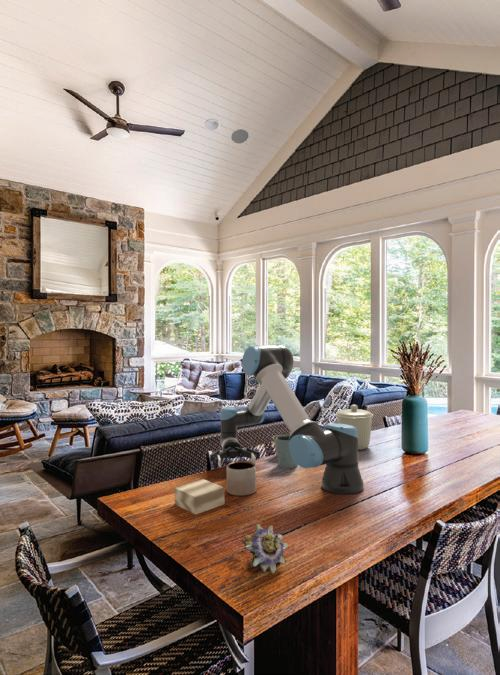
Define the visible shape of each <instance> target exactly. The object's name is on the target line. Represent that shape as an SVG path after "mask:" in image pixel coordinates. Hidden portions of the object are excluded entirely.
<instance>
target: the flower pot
mask: <svg viewBox="0 0 500 675" xmlns="http://www.w3.org/2000/svg"><path fill="white" fill-rule="evenodd" d="M282 435H283V434H277V435H273V436H272V440H273V442H274V448H275V449H274V450H275V455H276V456H277V457H278V453H277V452H278V451H277V443H276V437H278V436H282Z"/></svg>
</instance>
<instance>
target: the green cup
mask: <svg viewBox="0 0 500 675" xmlns="http://www.w3.org/2000/svg"><path fill="white" fill-rule="evenodd" d="M281 435H282V436H278V437H276V443H277V451H278V452H277V453H278V456H277V463H278V464H277V465H278V467H279V468H281V469H282V468H283V469H294V468H297V467H298V466H299V465H297V464H296V463H295V462H294V460H293V459H292V457H291V455H290V452H289V451H290V449H289V442H290V439H289V436H290V434H281Z"/></svg>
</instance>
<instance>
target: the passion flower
mask: <svg viewBox="0 0 500 675" xmlns="http://www.w3.org/2000/svg"><path fill="white" fill-rule="evenodd" d="M273 527H274V526H273V525H270V526H269V527H268V528H267V529H266V528H265V527H264V528H263V527H261V525H260V524H259V523H256V524H255V532H254V534H253V535H252V536H251V535H246V536H244V538H243V539H242V540H241V542H242V544H244V547H243V548H244V549H245V550H246V551H249V552H250V554H251V556H252V559H251V561H250V567H251V568H253V567H254V568H255V567H257V566H258V565H259V567H260V570H261V571H262V573H265V572H267V570H268V571H269V572H270V574H272V575H273V574H275V572H276V570H277V563H279V564H280V565H284V564H285V562H286V561H285V558H284V556H285V555H284V554H285V551H284V550H286V549H287V548H288V546H289V544H288V543H286V542H284V540H282V539H283V535H282V534H278V533H275V531H274V528H273ZM249 539H251V540H250V541H249Z"/></svg>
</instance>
